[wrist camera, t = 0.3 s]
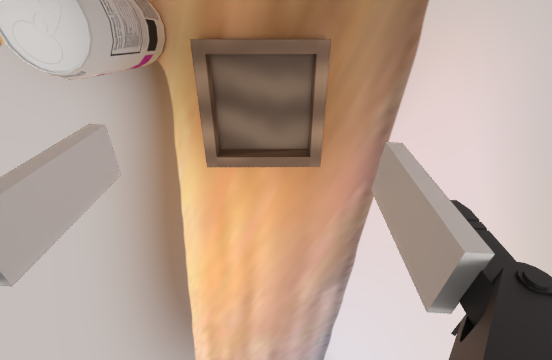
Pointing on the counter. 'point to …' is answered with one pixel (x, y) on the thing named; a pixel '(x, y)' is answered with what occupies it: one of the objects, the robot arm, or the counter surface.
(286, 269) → the counter surface
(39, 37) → the supplement can
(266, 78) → the tray
